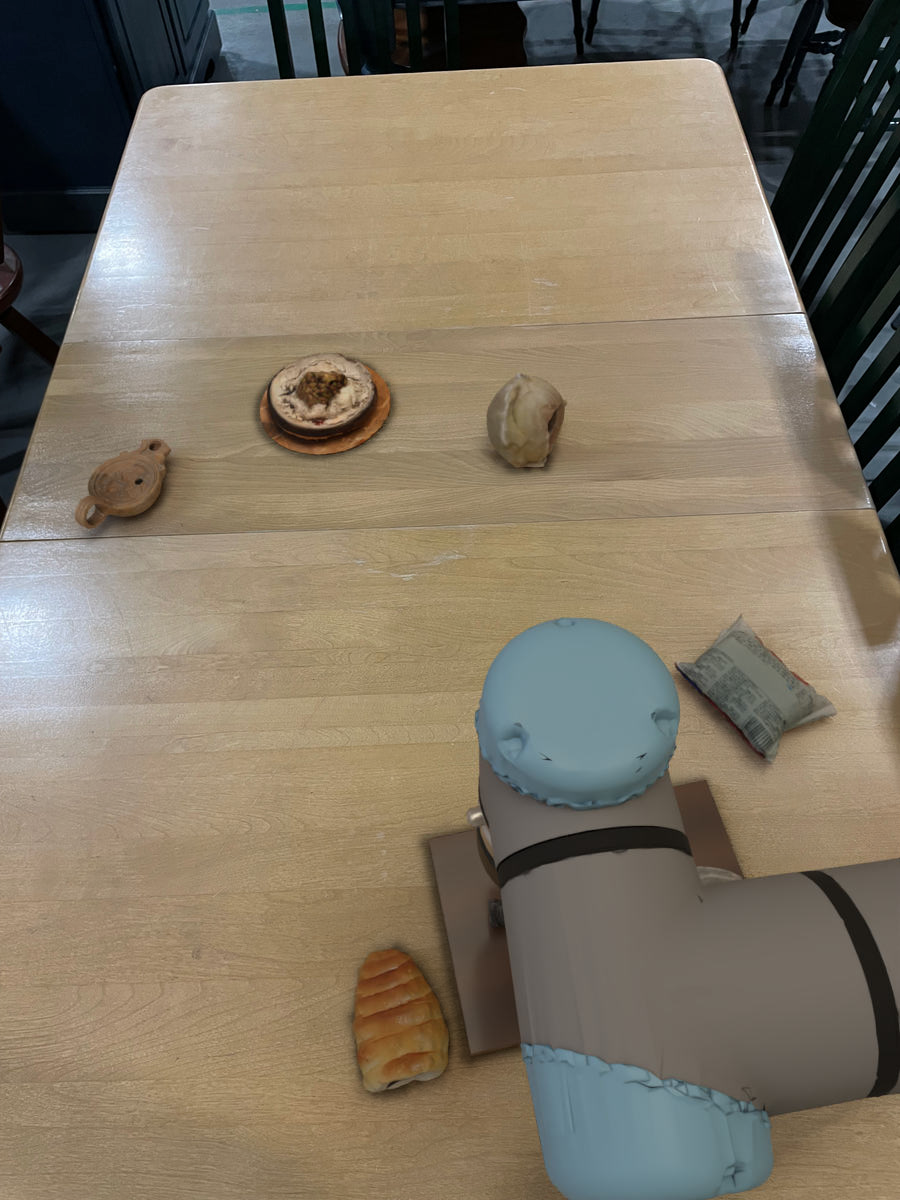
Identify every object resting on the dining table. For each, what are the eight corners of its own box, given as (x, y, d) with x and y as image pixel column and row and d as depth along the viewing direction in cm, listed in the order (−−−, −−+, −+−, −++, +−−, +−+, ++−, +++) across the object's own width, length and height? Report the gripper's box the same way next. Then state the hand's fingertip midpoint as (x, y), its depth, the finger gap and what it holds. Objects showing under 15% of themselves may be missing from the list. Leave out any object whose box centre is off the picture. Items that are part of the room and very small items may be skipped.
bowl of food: (273, 468, 93) (266, 441, 89) (249, 376, 100) (241, 349, 97) (403, 436, 95) (401, 409, 91) (370, 349, 103) (366, 321, 99)
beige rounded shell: (503, 486, 94) (479, 443, 85) (486, 423, 97) (461, 375, 88) (585, 458, 92) (570, 411, 83) (565, 394, 95) (548, 343, 86)
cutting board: (778, 982, 64) (783, 980, 63) (470, 1056, 62) (470, 1054, 61) (703, 784, 73) (706, 779, 72) (428, 843, 71) (428, 839, 70)
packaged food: (735, 628, 81) (749, 601, 77) (831, 721, 76) (851, 698, 71) (666, 676, 78) (677, 650, 74) (760, 776, 73) (777, 755, 69)
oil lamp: (146, 445, 95) (131, 414, 91) (198, 470, 93) (185, 439, 89) (64, 528, 89) (43, 497, 85) (117, 556, 87) (99, 527, 83)
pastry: (340, 965, 66) (334, 957, 62) (424, 940, 67) (422, 930, 63) (367, 1101, 61) (362, 1099, 58) (458, 1071, 62) (457, 1068, 59)
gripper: (445, 688, 48) (452, 816, 68) (518, 1010, 39) (502, 1049, 59) (573, 663, 49) (543, 797, 68) (674, 974, 40) (606, 1024, 60)
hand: (524, 914), depth 64 cm, fingers closed on knife, 4 cm apart
